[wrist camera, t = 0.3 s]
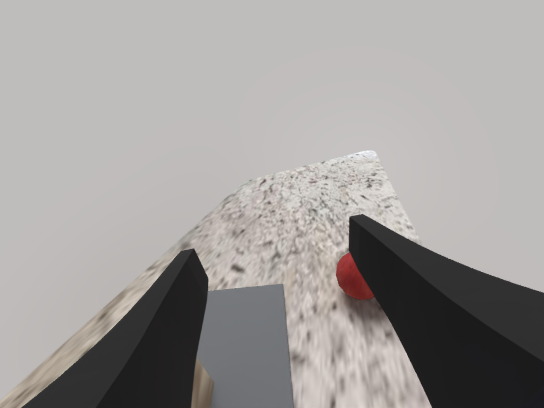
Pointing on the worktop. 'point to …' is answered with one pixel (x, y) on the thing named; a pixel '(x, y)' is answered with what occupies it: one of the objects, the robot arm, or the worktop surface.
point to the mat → (247, 348)
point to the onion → (352, 279)
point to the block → (201, 387)
